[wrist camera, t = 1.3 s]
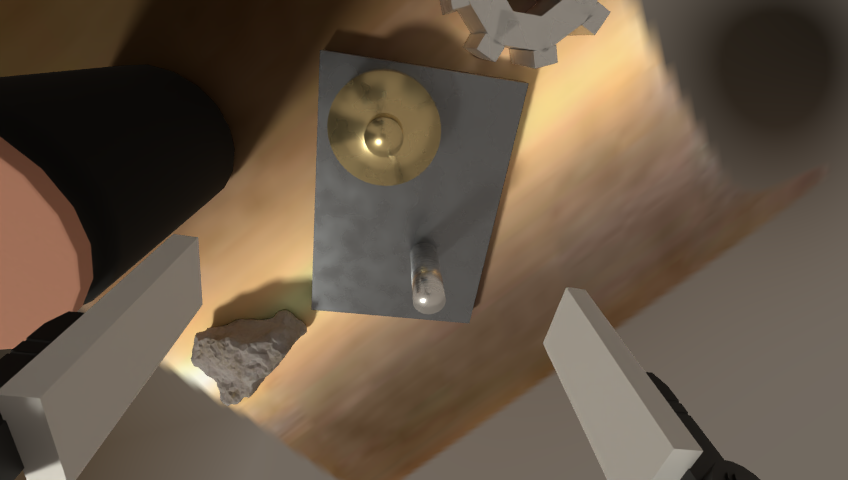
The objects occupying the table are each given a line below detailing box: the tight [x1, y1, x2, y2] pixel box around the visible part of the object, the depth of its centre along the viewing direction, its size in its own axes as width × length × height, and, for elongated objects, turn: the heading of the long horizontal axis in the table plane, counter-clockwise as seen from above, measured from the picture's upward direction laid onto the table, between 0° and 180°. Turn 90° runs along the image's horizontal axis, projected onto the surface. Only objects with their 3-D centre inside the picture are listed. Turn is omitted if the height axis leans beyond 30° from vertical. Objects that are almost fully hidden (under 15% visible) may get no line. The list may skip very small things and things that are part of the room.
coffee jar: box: [0, 65, 235, 349], centre depth 23 cm, size 11×11×18 cm
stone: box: [191, 310, 307, 406], centre depth 37 cm, size 10×8×6 cm
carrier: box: [312, 50, 529, 323], centre depth 31 cm, size 22×15×8 cm
